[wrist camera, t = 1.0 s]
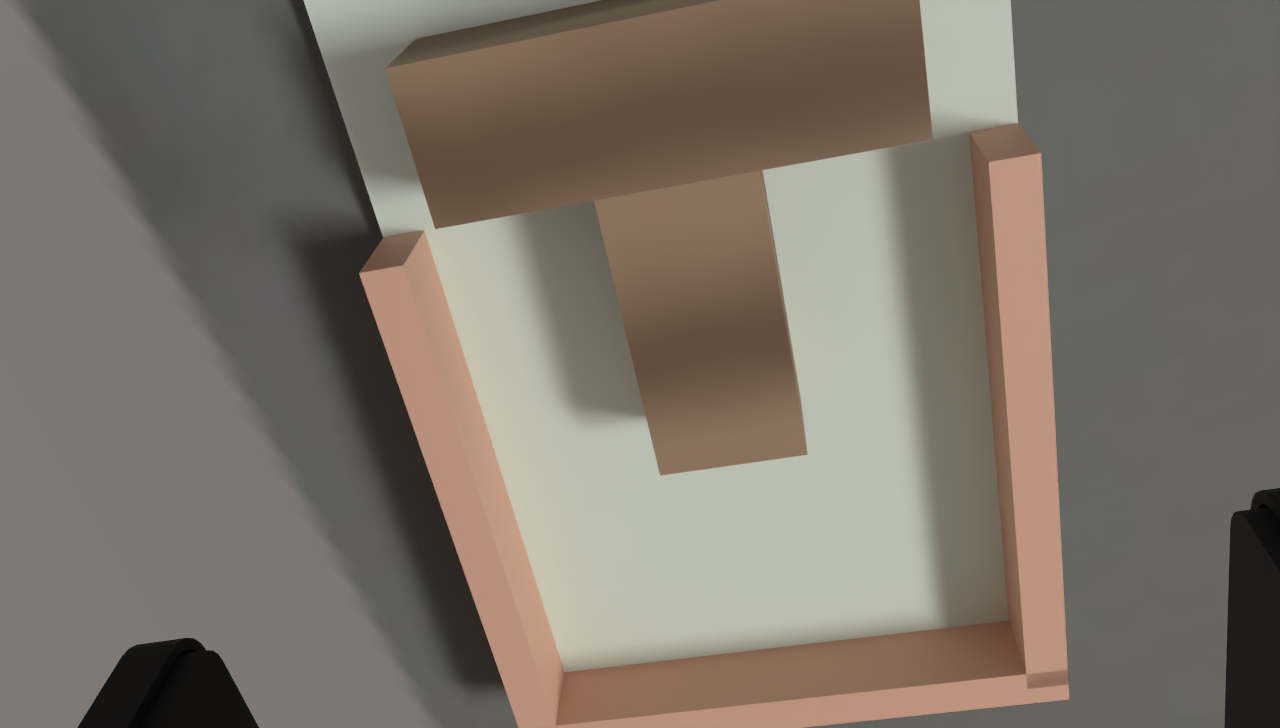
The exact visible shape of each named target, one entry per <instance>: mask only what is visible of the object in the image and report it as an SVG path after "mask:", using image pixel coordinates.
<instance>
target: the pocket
mask: <svg viewBox="0 0 1280 728" xmlns="http://www.w3.org/2000/svg"><path fill="white" fill-rule="evenodd" d="M969 133H970V146H971V158H972V171H973V183H974V196H975V208H976V220H977V233H978V245H979V258H980V270H981V283H982V295H983V307H984V320H985V332H986V345H987V357H988V370H989V382H990V394H991V407H992V419H993V432H994V444H995V457H996V469H997V481H998V494H999V506H1000V519H1001V531H1002V544H1003V556H1004V568H1005V581H1006V593H1007V606H1008V618H1009V621H1001V622H992V623H984V624H975V625H967V626H958V627H950V628H941V629H932V630H924V631H915V632H907V633H898V634H890V635H881V636H872V637H864V638H855V639H847V640H838V641H830V642H821V643H812V644H804V645H795V646H787V647H778V648H770V649H761V650H752V651H744V652H735V653H727V654H718V655H710V656H701V657H692V658H684V659H675V660H667V661H658V662H650V663H641V664H632V665H624V666H615V667H607V668H598V669H590V670H581V671H572V672H564V669H563V666H562V662H561V659H560V656H559V653H558V650H557V647H556V643H555V640H554V637H553V634H552V631H551V628H550V625H549V621H548V618H547V615H546V612H545V609H544V606H543V602H542V599H541V596H540V593H539V590H538V587H537V584H536V580H535V577H534V574H533V571H532V568H531V565H530V561H529V558H528V555H527V552H526V549H525V546H524V543H523V539H522V536H521V533H520V530H519V527H518V524H517V520H516V517H515V514H514V511H513V508H512V505H511V501H510V498H509V495H508V492H507V489H506V486H505V483H504V479H503V476H502V473H501V470H500V467H499V464H498V460H497V457H496V454H495V451H494V448H493V445H492V442H491V438H490V435H489V432H488V429H487V426H486V423H485V419H484V416H483V413H482V410H481V407H480V404H479V401H478V397H477V394H476V391H475V388H474V385H473V382H472V378H471V375H470V372H469V369H468V366H467V363H466V360H465V356H464V353H463V350H462V347H461V344H460V341H459V337H458V334H457V331H456V328H455V325H454V322H453V319H452V315H451V312H450V309H449V306H448V303H447V300H446V296H445V293H444V290H443V287H442V284H441V281H440V278H439V274H438V271H437V268H436V265H435V262H434V259H433V255H432V252H431V249H430V246H429V243H428V240H427V237H426V233H425V230H424V231H418V232H413V233H407V234H401V235H396V236H390V237H385V238H383V239H382V240H381V242H380V243H379V245H378V246H377V248H376V249H375V250H374V252H373V253H372V255H371V256H370V258H369V259H368V261H367V262H366V264H365V265H364V267H363V268H362V269H361V271H360V272H359V275H360V277H361V280H362V283H363V286H364V289H365V292H366V294H367V297H368V300H369V303H370V306H371V309H372V312H373V314H374V317H375V320H376V323H377V326H378V329H379V331H380V334H381V337H382V340H383V343H384V346H385V349H386V351H387V354H388V357H389V360H390V363H391V366H392V368H393V371H394V374H395V377H396V380H397V383H398V385H399V388H400V391H401V394H402V397H403V400H404V403H405V405H406V408H407V411H408V414H409V417H410V420H411V422H412V425H413V428H414V431H415V434H416V437H417V440H418V442H419V445H420V448H421V451H422V454H423V457H424V459H425V462H426V465H427V468H428V471H429V474H430V477H431V479H432V482H433V485H434V488H435V491H436V494H437V496H438V499H439V502H440V505H441V508H442V511H443V514H444V516H445V519H446V522H447V525H448V528H449V531H450V533H451V536H452V539H453V542H454V545H455V548H456V551H457V553H458V556H459V559H460V562H461V565H462V568H463V570H464V573H465V576H466V579H467V582H468V585H469V587H470V590H471V593H472V596H473V599H474V602H475V605H476V607H477V610H478V613H479V616H480V619H481V622H482V624H483V627H484V630H485V633H486V636H487V639H488V642H489V644H490V647H491V650H492V653H493V656H494V659H495V661H496V664H497V667H498V670H499V673H500V676H501V679H502V681H503V684H504V687H505V690H506V693H507V696H508V698H509V701H510V704H511V707H512V710H513V713H514V716H515V718H516V721H517V724H518V727H519V728H803V727H812V726H822V725H831V724H841V723H850V722H860V721H869V720H878V719H888V718H897V717H907V716H916V715H926V714H935V713H945V712H954V711H964V710H973V709H983V708H992V707H1001V706H1011V705H1020V704H1030V703H1039V702H1049V701H1058V700H1068V699H1069V686H1068V667H1067V647H1066V628H1065V609H1064V589H1063V570H1062V550H1061V531H1060V511H1059V492H1058V473H1057V453H1056V434H1055V414H1054V395H1053V375H1052V356H1051V337H1050V317H1049V298H1048V278H1047V259H1046V239H1045V220H1044V201H1043V181H1042V162H1041V152H1040V151H1039V150H1038V148H1037V147H1036V146H1035V145H1034V143H1033V142H1032V141H1031V139H1030V138H1029V137H1028V136H1027V134H1026V133H1025V132H1024V130H1023V129H1022V128H1021V127H1020V125H1019V124H1018V123H1016V124H1011V125H1005V126H1000V127H994V128H989V129H983V130H978V131H972V132H969Z"/></svg>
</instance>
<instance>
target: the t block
mask: <svg viewBox="0 0 1280 728" xmlns="http://www.w3.org/2000/svg"><path fill="white" fill-rule="evenodd" d="M385 70H386V73H387V77H388V80H389V83H390V86H391V89H392V93H393V96H394V99H395V102H396V105H397V109H398V112H399V115H400V118H401V121H402V125H403V128H404V131H405V134H406V137H407V141H408V144H409V147H410V150H411V153H412V157H413V160H414V163H415V166H416V169H417V173H418V176H419V179H420V182H421V185H422V189H423V192H424V195H425V198H426V201H427V205H428V208H429V211H430V214H431V217H432V221H433V224H434V227H435V229H439V228H445V227H450V226H456V225H461V224H467V223H473V222H478V221H484V220H489V219H495V218H500V217H506V216H511V215H517V214H522V213H528V212H534V211H539V210H545V209H550V208H556V207H561V206H567V205H572V204H578V203H583V202H589V201H594V204H595V208H596V212H597V216H598V220H599V224H600V228H601V233H602V237H603V241H604V245H605V249H606V253H607V257H608V262H609V266H610V270H611V274H612V278H613V282H614V286H615V291H616V295H617V299H618V303H619V307H620V311H621V315H622V320H623V324H624V328H625V332H626V336H627V340H628V344H629V349H630V353H631V357H632V361H633V365H634V369H635V373H636V378H637V382H638V386H639V390H640V394H641V398H642V402H643V406H644V411H645V415H646V419H647V423H648V427H649V431H650V435H651V440H652V444H653V448H654V452H655V456H656V460H657V464H658V469H659V473H660V476H661V475H668V474H675V473H682V472H689V471H697V470H704V469H711V468H718V467H725V466H732V465H739V464H746V463H753V462H760V461H767V460H774V459H781V458H788V457H795V456H802V455H808V454H807V446H806V437H805V429H804V421H803V413H802V404H801V397H800V391H799V385H798V379H797V373H796V367H795V361H794V355H793V349H792V343H791V337H790V331H789V325H788V319H787V313H786V307H785V301H784V296H783V290H782V284H781V278H780V272H779V266H778V260H777V254H776V248H775V242H774V236H773V230H772V224H771V218H770V212H769V206H768V200H767V194H766V188H765V182H764V177H763V171H762V170H766V169H772V168H777V167H783V166H789V165H794V164H800V163H805V162H811V161H816V160H822V159H827V158H833V157H838V156H844V155H850V154H855V153H861V152H866V151H872V150H877V149H883V148H888V147H894V146H899V145H905V144H911V143H916V142H922V141H927V140H933V135H932V125H931V115H930V104H929V94H928V83H927V73H926V62H925V52H924V41H923V31H922V21H921V10H920V0H601V1H596V2H591V3H586V4H582V5H577V6H572V7H567V8H562V9H558V10H553V11H548V12H543V13H538V14H533V15H529V16H524V17H519V18H514V19H509V20H504V21H500V22H495V23H490V24H485V25H480V26H476V27H471V28H466V29H461V30H456V31H451V32H447V33H442V34H437V35H432V36H427V37H423V38H418V39H415V40H414V41H413V42H412V43H411V44H410V45H409V46H408V47H407V48H406V49H405V50H404V51H403V52H402V53H401V54H399V55H398V56H397V57H396V58H395V59H394V60H393V61H392V62H391V63H390V64H389V65H388V66H387V67H386V68H385Z"/></svg>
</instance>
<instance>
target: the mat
mask: <svg viewBox="0 0 1280 728" xmlns="http://www.w3.org/2000/svg"><path fill="white" fill-rule="evenodd" d="M303 1H304V4H305V7H306V10H307V13H308V16H309V18H310V21H311V24H312V27H313V30H314V33H315V36H316V39H317V42H318V45H319V48H320V51H321V54H322V57H323V60H324V63H325V66H326V69H327V72H328V75H329V78H330V81H331V84H332V87H333V90H334V93H335V96H336V99H337V102H338V105H339V108H340V111H341V114H342V117H343V120H344V123H345V126H346V129H347V132H348V135H349V138H350V141H351V144H352V147H353V150H354V152H355V155H356V158H357V161H358V164H359V167H360V170H361V173H362V176H363V179H364V182H365V185H366V188H367V191H368V194H369V197H370V200H371V203H372V206H373V209H374V212H375V215H376V218H377V221H378V224H379V227H380V230H381V233H382V236H383V238H385V237H390V236H396V235H401V234H407V233H413V232H418V231H424V230H425V233H426V237H427V240H428V243H429V246H430V249H431V252H432V255H433V259H434V262H435V265H436V268H437V271H438V274H439V278H440V281H441V284H442V287H443V290H444V293H445V296H446V300H447V303H448V306H449V309H450V312H451V315H452V319H453V322H454V325H455V328H456V331H457V334H458V337H459V341H460V344H461V347H462V350H463V353H464V356H465V360H466V363H467V366H468V369H469V372H470V375H471V378H472V382H473V385H474V388H475V391H476V394H477V397H478V401H479V404H480V407H481V410H482V413H483V416H484V419H485V423H486V426H487V429H488V432H489V435H490V438H491V442H492V445H493V448H494V451H495V454H496V457H497V460H498V464H499V467H500V470H501V473H502V476H503V479H504V483H505V486H506V489H507V492H508V495H509V498H510V501H511V505H512V508H513V511H514V514H515V517H516V520H517V524H518V527H519V530H520V533H521V536H522V539H523V543H524V546H525V549H526V552H527V555H528V558H529V561H530V565H531V568H532V571H533V574H534V577H535V580H536V584H537V587H538V590H539V593H540V596H541V599H542V602H543V606H544V609H545V612H546V615H547V618H548V621H549V625H550V628H551V631H552V634H553V637H554V640H555V643H556V647H557V650H558V653H559V656H560V659H561V662H562V666H563V669H564V672H572V671H581V670H590V669H598V668H607V667H615V666H624V665H632V664H641V663H650V662H658V661H667V660H675V659H684V658H692V657H701V656H710V655H718V654H727V653H735V652H744V651H752V650H761V649H770V648H778V647H787V646H795V645H804V644H812V643H821V642H830V641H838V640H847V639H855V638H864V637H872V636H881V635H890V634H898V633H907V632H915V631H924V630H932V629H941V628H950V627H958V626H967V625H975V624H984V623H992V622H1001V621H1009V618H1008V606H1007V593H1006V581H1005V568H1004V556H1003V544H1002V531H1001V519H1000V506H999V494H998V481H997V469H996V457H995V444H994V432H993V419H992V407H991V394H990V382H989V370H988V357H987V345H986V332H985V320H984V307H983V295H982V283H981V270H980V258H979V245H978V233H977V220H976V208H975V196H974V183H973V171H972V158H971V146H970V133H969V132H972V131H978V130H983V129H989V128H994V127H1000V126H1005V125H1011V124H1016V123H1018V117H1017V101H1016V84H1015V68H1014V51H1013V34H1012V18H1011V1H1010V0H920V10H921V21H922V31H923V41H924V52H925V62H926V73H927V83H928V94H929V104H930V115H931V125H932V135H933V140H927V141H922V142H916V143H911V144H905V145H899V146H894V147H888V148H883V149H877V150H872V151H866V152H861V153H855V154H850V155H844V156H838V157H833V158H827V159H822V160H816V161H811V162H805V163H800V164H794V165H789V166H783V167H777V168H772V169H766V170H762V171H763V177H764V182H765V188H766V194H767V200H768V206H769V212H770V218H771V224H772V230H773V236H774V242H775V248H776V254H777V260H778V266H779V272H780V278H781V284H782V290H783V296H784V301H785V307H786V313H787V319H788V325H789V331H790V337H791V343H792V349H793V355H794V361H795V367H796V373H797V379H798V385H799V391H800V397H801V404H802V413H803V421H804V429H805V437H806V446H807V454H808V455H802V456H795V457H788V458H781V459H774V460H767V461H760V462H753V463H746V464H739V465H732V466H725V467H718V468H711V469H704V470H697V471H689V472H682V473H675V474H668V475H661V476H660V473H659V469H658V464H657V460H656V456H655V452H654V448H653V444H652V440H651V435H650V431H649V427H648V423H647V419H646V415H645V411H644V406H643V402H642V398H641V394H640V390H639V386H638V382H637V378H636V373H635V369H634V365H633V361H632V357H631V353H630V349H629V344H628V340H627V336H626V332H625V328H624V324H623V320H622V315H621V311H620V307H619V303H618V299H617V295H616V291H615V286H614V282H613V278H612V274H611V270H610V266H609V262H608V257H607V253H606V249H605V245H604V241H603V237H602V233H601V228H600V224H599V220H598V216H597V212H596V208H595V204H594V201H589V202H583V203H578V204H572V205H567V206H561V207H556V208H550V209H545V210H539V211H534V212H528V213H522V214H517V215H511V216H506V217H500V218H495V219H489V220H484V221H478V222H473V223H467V224H461V225H456V226H450V227H445V228H439V229H435V227H434V224H433V221H432V217H431V214H430V211H429V208H428V205H427V201H426V198H425V195H424V192H423V189H422V185H421V182H420V179H419V176H418V173H417V169H416V166H415V163H414V160H413V157H412V153H411V150H410V147H409V144H408V141H407V137H406V134H405V131H404V128H403V125H402V121H401V118H400V115H399V112H398V109H397V105H396V102H395V99H394V96H393V93H392V89H391V86H390V83H389V80H388V77H387V73H386V70H385V68H386V67H387V66H388V65H389V64H390V63H391V62H392V61H393V60H394V59H395V58H396V57H397V56H398V55H399V54H401V53H402V52H403V51H404V50H405V49H406V48H407V47H408V46H409V45H410V44H411V43H412V42H413V41H414V40H415V39H418V38H423V37H427V36H432V35H437V34H442V33H447V32H451V31H456V30H461V29H466V28H471V27H476V26H480V25H485V24H490V23H495V22H500V21H504V20H509V19H514V18H519V17H524V16H529V15H533V14H538V13H543V12H548V11H553V10H558V9H562V8H567V7H572V6H577V5H582V4H586V3H591V2H596V1H601V0H303Z"/></svg>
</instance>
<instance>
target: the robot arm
mask: <svg viewBox="0 0 1280 728" xmlns="http://www.w3.org/2000/svg"><path fill="white" fill-rule="evenodd" d="M78 728H259V727H258V725H257V723H256V721H255V720H254V718H253V716H252V714H251V712H250V710H249V708H248V707H247V705H246V703H245V701H244V699H243V697H242V695H241V694H240V692H239V690H238V688H237V686H236V684H235V682H234V681H233V679H232V677H231V675H230V673H229V671H228V669H227V668H226V666H225V664H224V662H223V660H222V659H221V658H220V656H219V655H218V654H217V653H216V652H214V651H206V650H205V648H204V647H203V645H202V644H201V643H200V642H198V641H197V640H195V639H193V638H183V639H176V640H169V641H162V642H154V643H147V644H140V645H136V646H134V647H132V648H130V649H128V650H127V651H126V653H125V654H124V655H123V656H122V657H121V659H120V661H119V662H118V664H117V665H116V667H115V669H114V670H113V672H112V673H111V675H110V677H109V678H108V680H107V682H106V683H105V685H104V686H103V688H102V689H101V691H100V693H99V694H98V696H97V697H96V699H95V701H94V702H93V704H92V706H91V707H90V709H89V710H88V712H87V714H86V715H85V717H84V718H83V720H82V722H81V723H80V725H79V726H78ZM1225 728H1280V488H1277V489H1270V490H1262V491H1259V492H1257V493H1255V495H1254V497H1253V499H1252V504H1251V510H1245V511H1237V512H1235V513H1234V514H1233V516H1232V518H1231V526H1230V560H1229V594H1228V629H1227V663H1226V697H1225Z"/></svg>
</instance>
